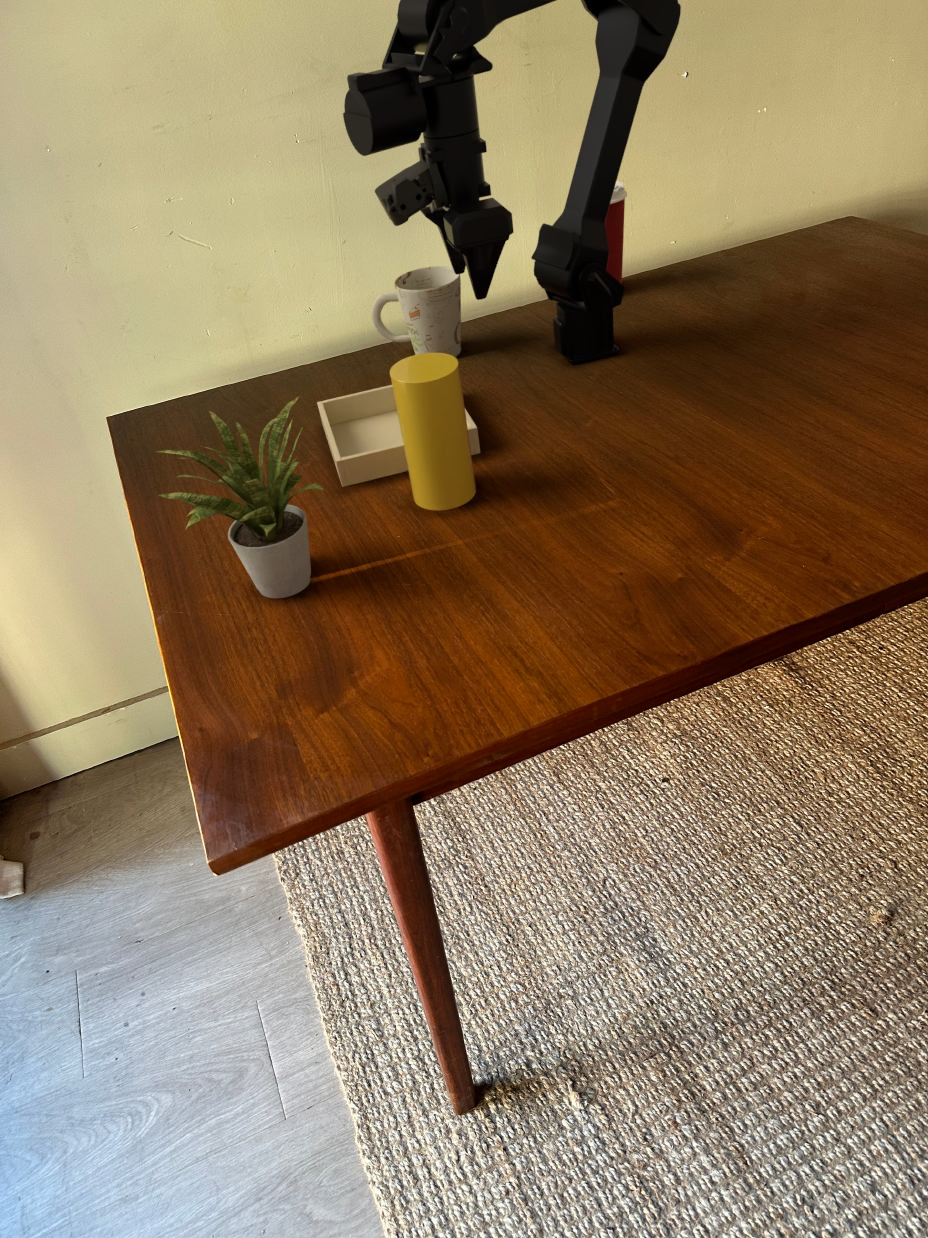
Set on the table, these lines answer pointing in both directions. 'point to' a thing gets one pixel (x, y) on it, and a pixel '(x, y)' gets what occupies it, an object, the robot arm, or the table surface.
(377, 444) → the white rectangular tray
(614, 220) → the paper cup
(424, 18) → the robot arm
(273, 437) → the house plant
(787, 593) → the table surface
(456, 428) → the yellow cylinder
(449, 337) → the mug
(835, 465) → the table surface
